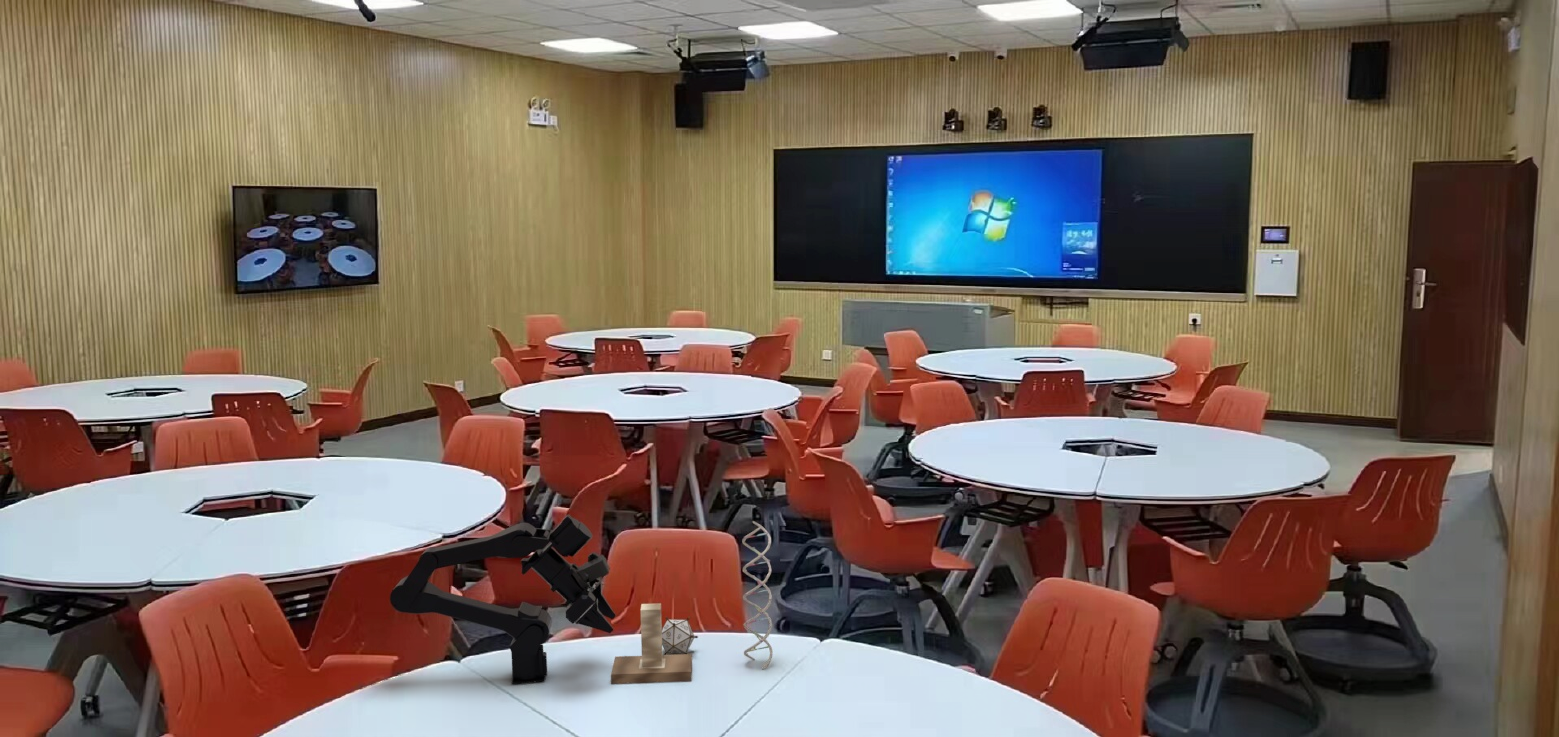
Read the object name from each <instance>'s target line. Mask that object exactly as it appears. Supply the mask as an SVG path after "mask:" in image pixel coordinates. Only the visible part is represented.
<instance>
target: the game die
mask: <svg viewBox="0 0 1559 737" xmlns="http://www.w3.org/2000/svg"><path fill="white" fill-rule="evenodd" d="M664 617H665V620H666V621H665V622H664V624H663V625H662V649H663V650H664V651H665V652H664V653H663V655H668V654H688V652H689V649H690V647H691V645H692V644H693V642H694V640H695V639H698V638H699V636H698V635H695V634H694V631H693V630H692V627H691V624H690V622H689V620H690V618H691V616H688V617H687V618H686V619H677V618H676V619H672V618H671V619H670V618H669V617H668V616H666V615H665V616H664Z"/></svg>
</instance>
